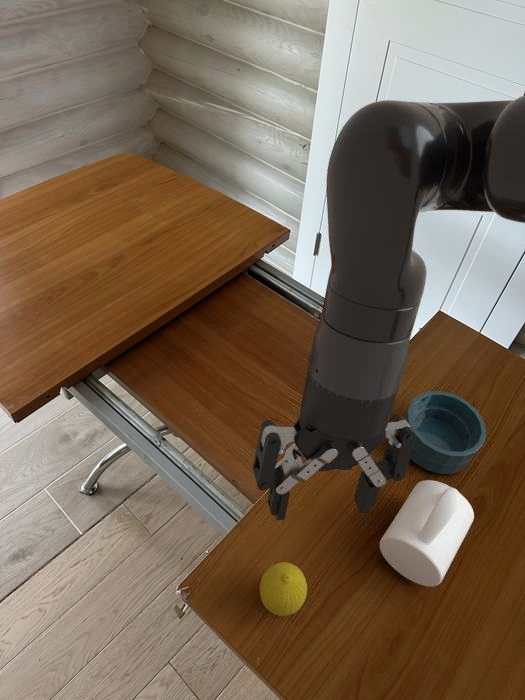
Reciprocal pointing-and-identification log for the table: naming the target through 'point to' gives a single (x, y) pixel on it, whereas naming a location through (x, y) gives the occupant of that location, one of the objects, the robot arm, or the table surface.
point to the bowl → (444, 431)
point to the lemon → (283, 589)
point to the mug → (427, 532)
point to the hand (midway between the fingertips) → (320, 509)
